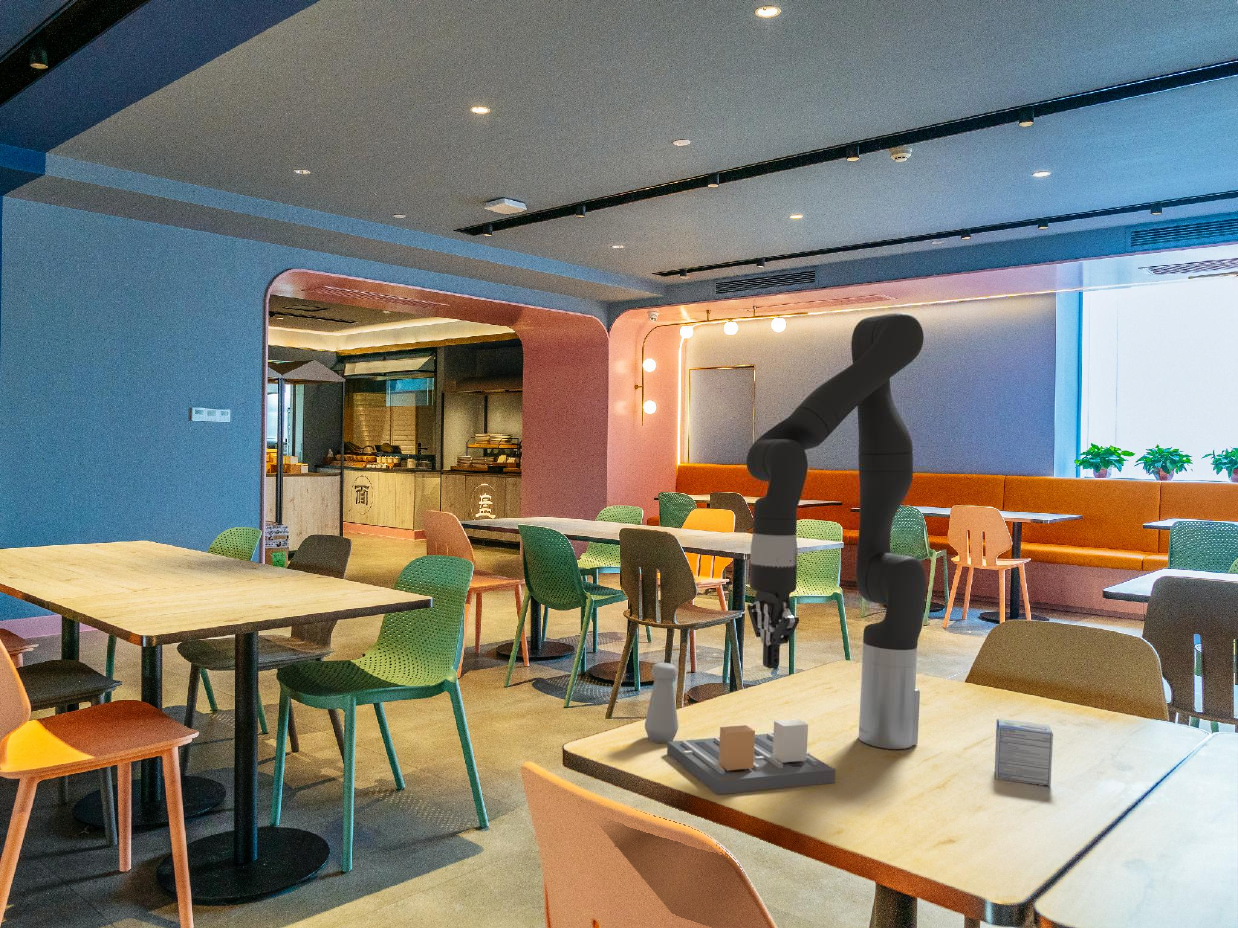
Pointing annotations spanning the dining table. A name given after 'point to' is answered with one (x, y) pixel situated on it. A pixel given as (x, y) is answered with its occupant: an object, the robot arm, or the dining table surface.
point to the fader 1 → (736, 747)
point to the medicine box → (1023, 752)
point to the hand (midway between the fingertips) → (770, 666)
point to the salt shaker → (662, 705)
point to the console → (763, 776)
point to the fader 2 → (790, 740)
